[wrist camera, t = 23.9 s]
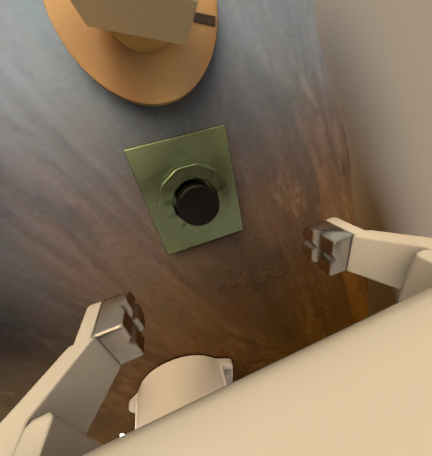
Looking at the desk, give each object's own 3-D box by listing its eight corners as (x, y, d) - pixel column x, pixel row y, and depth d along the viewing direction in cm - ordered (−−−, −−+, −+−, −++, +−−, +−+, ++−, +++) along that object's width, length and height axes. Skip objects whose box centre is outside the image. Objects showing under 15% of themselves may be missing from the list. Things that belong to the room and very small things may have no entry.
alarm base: (238, 223, 24) (250, 236, 20) (167, 247, 22) (168, 265, 19) (219, 125, 18) (232, 122, 15) (126, 149, 17) (119, 151, 14)
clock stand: (215, -77, 13) (221, -102, 12) (211, 111, 18) (215, 109, 16) (17, -143, 10) (-6, -187, 9) (74, 101, 15) (65, 97, 13)
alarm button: (218, 212, 19) (223, 219, 17) (182, 223, 18) (185, 231, 17) (209, 176, 17) (214, 180, 15) (170, 187, 17) (171, 192, 15)
